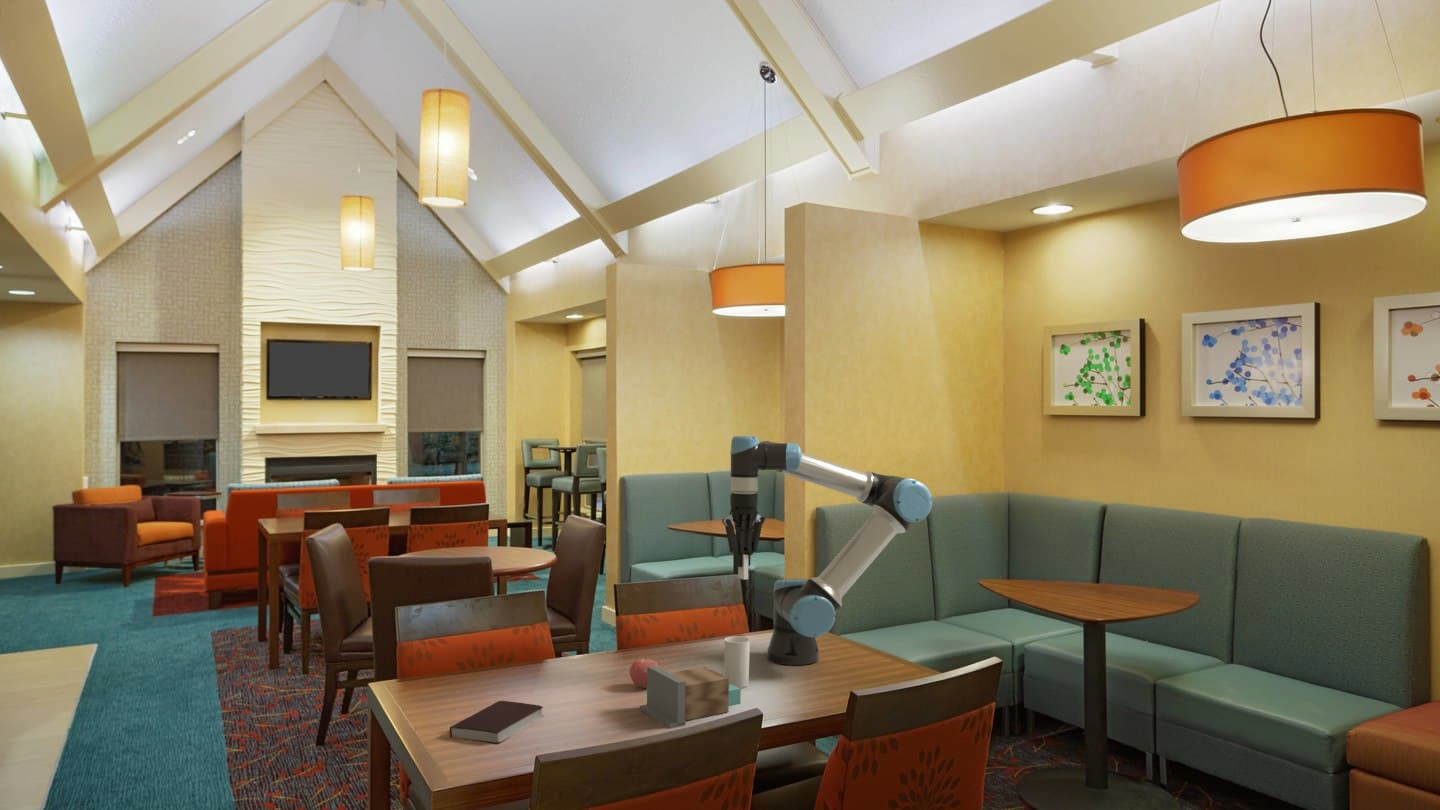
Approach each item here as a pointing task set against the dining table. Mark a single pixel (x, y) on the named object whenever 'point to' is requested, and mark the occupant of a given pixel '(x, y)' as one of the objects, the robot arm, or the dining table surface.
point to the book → (496, 722)
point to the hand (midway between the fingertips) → (743, 578)
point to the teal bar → (734, 695)
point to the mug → (737, 660)
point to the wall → (665, 697)
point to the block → (704, 692)
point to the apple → (641, 671)
